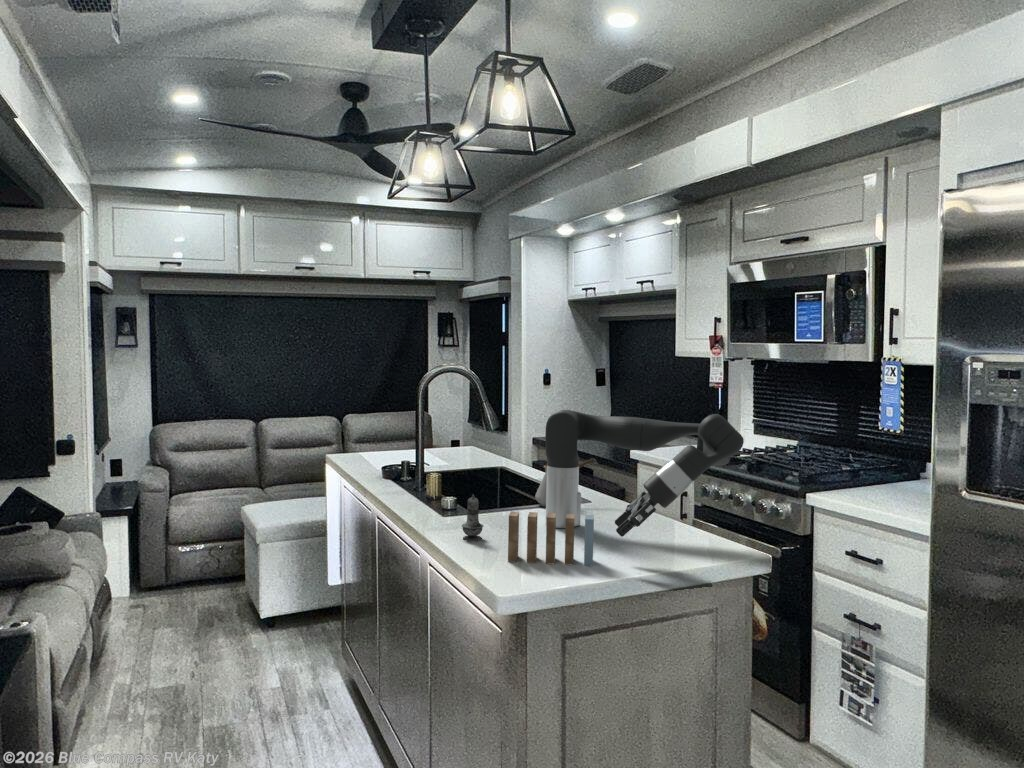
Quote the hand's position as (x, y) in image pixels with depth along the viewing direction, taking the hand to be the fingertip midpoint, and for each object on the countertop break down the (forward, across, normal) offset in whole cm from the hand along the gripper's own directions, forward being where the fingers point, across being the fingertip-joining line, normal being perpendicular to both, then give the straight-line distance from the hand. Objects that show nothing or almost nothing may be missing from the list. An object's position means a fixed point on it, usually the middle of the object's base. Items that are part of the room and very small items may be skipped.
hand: (617, 529), depth 176 cm
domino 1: (+24, 0, +12) cm, 26 cm away
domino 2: (+20, 0, +8) cm, 22 cm away
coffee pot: (+16, +66, +4) cm, 68 cm away
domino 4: (+14, 0, +2) cm, 14 cm away
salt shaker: (+32, +17, +20) cm, 42 cm away
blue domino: (+11, 0, -1) cm, 11 cm away
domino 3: (+17, 0, +5) cm, 18 cm away
